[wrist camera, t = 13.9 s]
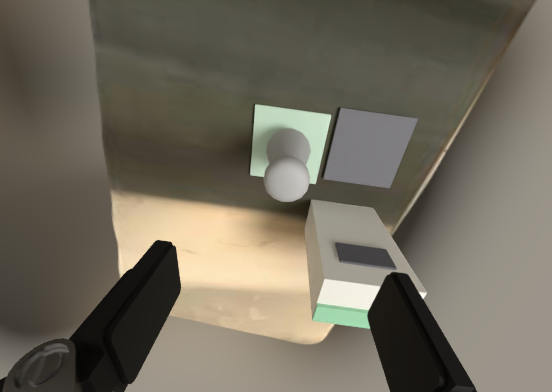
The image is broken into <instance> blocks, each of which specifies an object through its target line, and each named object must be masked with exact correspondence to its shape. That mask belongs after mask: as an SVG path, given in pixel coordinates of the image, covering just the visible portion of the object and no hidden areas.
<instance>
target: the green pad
mask: <svg viewBox="0 0 552 392" xmlns="http://www.w3.org/2000/svg"><path fill="white" fill-rule="evenodd" d="M330 119H331V114H324V113H317V112H310V111H303V110H295V109H288V108H281V107H274V106H267V105H260V104H255V116H254V130H253V143H252V157H251V170H250V175H253V176H261V177H264V174H265V169H266V168H267V166H268V165H269V161H268V157H267V154H266V148H267V142H268V141H269V139H270V138H271V136H272V135H273V134H274V133H276V132H277V131H279V130H281V129H288V128H293V129H295V130H297V131H300V132H302V133H303V134H304V135H305V137H306V138H307V139H308V141H309V145H310V149H311V152H310V155H309V159H308V162H307V164H306V167H307V168H308V172H309V176H310V182H309V183H311V184H316V180H317V176H318V171H319V167H320V162H321V158H322V154H323V149H324V145H325V141H326V136H327V132H328V128H329V123H330Z"/></svg>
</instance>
